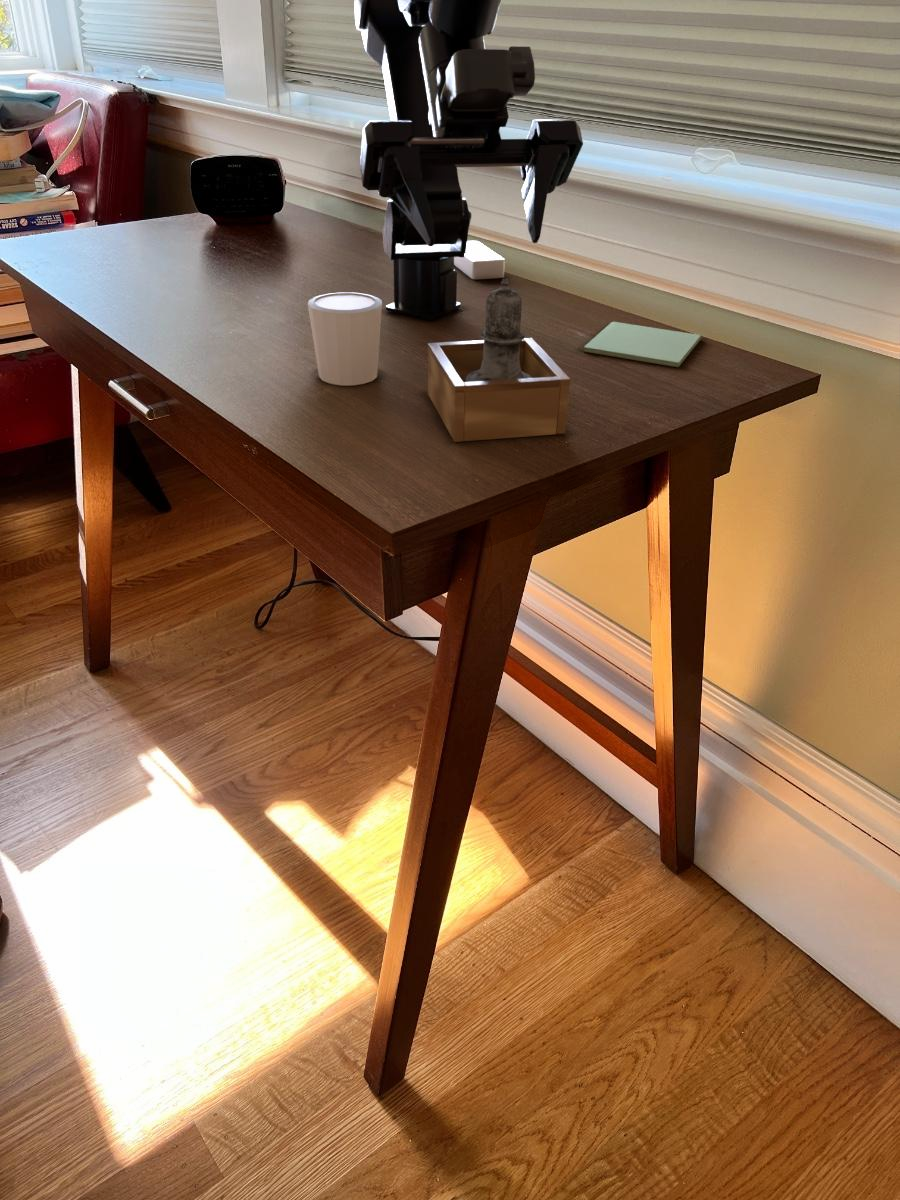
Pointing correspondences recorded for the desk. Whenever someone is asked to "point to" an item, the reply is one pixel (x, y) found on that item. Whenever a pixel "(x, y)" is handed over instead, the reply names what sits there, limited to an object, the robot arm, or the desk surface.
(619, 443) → the desk surface
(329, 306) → the white tapered cup
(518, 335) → the salt shaker
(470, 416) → the open wooden box
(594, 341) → the mat
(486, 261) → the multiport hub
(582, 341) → the desk surface
